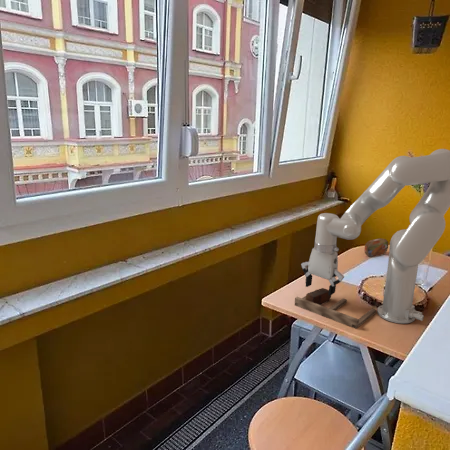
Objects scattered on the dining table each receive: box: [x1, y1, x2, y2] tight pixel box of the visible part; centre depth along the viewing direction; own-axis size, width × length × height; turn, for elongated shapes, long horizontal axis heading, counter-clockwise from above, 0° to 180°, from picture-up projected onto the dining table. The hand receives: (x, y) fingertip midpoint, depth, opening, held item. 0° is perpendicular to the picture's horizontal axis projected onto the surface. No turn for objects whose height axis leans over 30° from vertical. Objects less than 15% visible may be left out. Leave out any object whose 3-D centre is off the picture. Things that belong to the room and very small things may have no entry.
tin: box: [364, 238, 389, 258], centre depth 204 cm, size 15×3×8 cm, turn 119°
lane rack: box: [294, 295, 377, 330], centre depth 148 cm, size 24×16×3 cm, turn 47°
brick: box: [305, 287, 332, 306], centre depth 153 cm, size 11×4×5 cm, turn 128°
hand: (319, 290), depth 151 cm, fingers open, 9 cm apart
